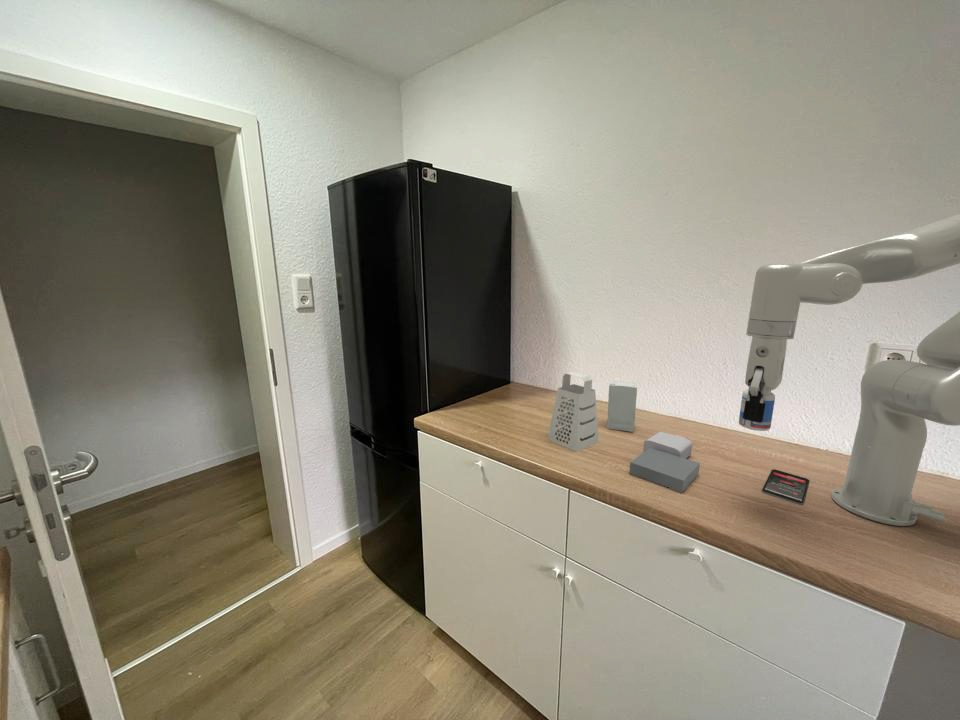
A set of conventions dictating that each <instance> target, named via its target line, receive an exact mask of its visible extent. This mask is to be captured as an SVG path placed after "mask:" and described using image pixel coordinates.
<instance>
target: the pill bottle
mask: <svg viewBox="0 0 960 720" xmlns="http://www.w3.org/2000/svg"><path fill="white" fill-rule="evenodd" d="M747 387H748V388H747V389H744V390H743V391H742V394H741V395H742V396H741V402H740V410H739V416H738V424H739V426H741V427H743V428H745V429H747V430H751V431H758V432H766V431H767V432H768V431H769V430H770V429H771V427H772V420H773V413H774V406H775V401H776V395H775V394H774V393H773V392H772V390H771V388H768V387H767V391H766V395H765V400H764V403H766V404H765V410H764V416H763V421H762V422H761V423H758V422H754V421H749V420H745V419H743V413H744V407H745V401H746V399H747V394H748V390H749V386H747ZM760 387H764V384H760ZM770 390H771V392H770ZM759 391H761V393H762V390H759Z"/></svg>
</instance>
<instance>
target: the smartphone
mask: <svg viewBox="0 0 960 720" xmlns="http://www.w3.org/2000/svg"><path fill="white" fill-rule="evenodd" d="M809 484H810V479H808V478H806V477H802V476H800V475H795V474H792V473H789V472H785V471H782V470H779V469H774V468H772V469H771V470H770V471H769V475H768V476H767V479H766V481H765V482H764V485H763V487H762V489H761V493H763V494H765V495H768V496H771V497H773V498H777V499H781V500H784V501H786V502H790V503H792V504H795V505H799V506H804V504H805V499H806V495H807V492H808V487H809Z"/></svg>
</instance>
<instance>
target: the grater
mask: <svg viewBox="0 0 960 720" xmlns="http://www.w3.org/2000/svg"><path fill="white" fill-rule="evenodd" d="M572 376H574V377H579V378H581V379H582V380H583V382H584V383H583V386H582V385H579V384H575V383H574V384H571V377H572ZM561 382H562V385H561V387H558V388H557V391H556V397H555V400H554V405H553V410H552V415H551V419H550V424H549V429H548V434H547V439H548V441H550V442H553V443H555V444H557V445H560V446H562V447H564V448H567V449H569V450H571V451H574V452H576V453H577V452H580V451H582V450H585V449H586V448H589V447H590V446H594V445H596V444H598V443H599V439H600V438H599V430H598V429H599V427H598V426H599V425H598V412H597V397H596V389H593V388H592V387H593V378H592V376H591V375H589V374H584V373H580V372H577V371H571V372H567V373H564V374H563V375H562V380H561ZM562 436H563V437H562ZM565 437H566V438H565ZM557 438H558V439H557ZM585 438H587V439H585ZM547 439H546V440H547ZM560 439H561V441H560ZM581 439H582V441H581ZM584 439H585V440H584ZM567 442H568V443H567Z"/></svg>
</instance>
